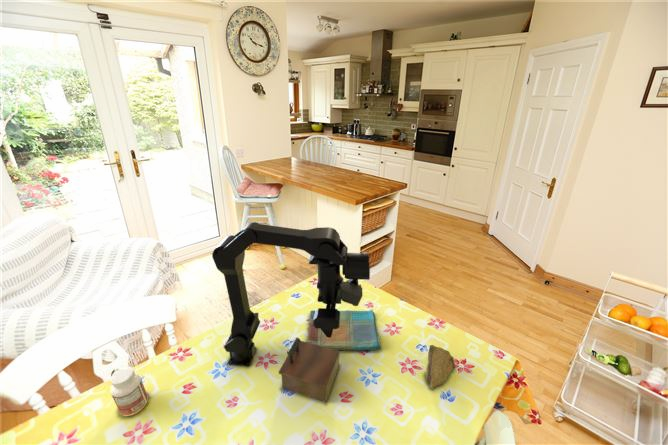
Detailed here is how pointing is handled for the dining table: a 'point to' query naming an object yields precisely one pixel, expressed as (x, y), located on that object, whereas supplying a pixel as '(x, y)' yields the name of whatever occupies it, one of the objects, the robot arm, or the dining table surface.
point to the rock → (438, 366)
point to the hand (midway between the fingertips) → (330, 324)
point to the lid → (309, 363)
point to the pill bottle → (128, 391)
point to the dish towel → (348, 332)
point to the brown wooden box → (310, 386)
